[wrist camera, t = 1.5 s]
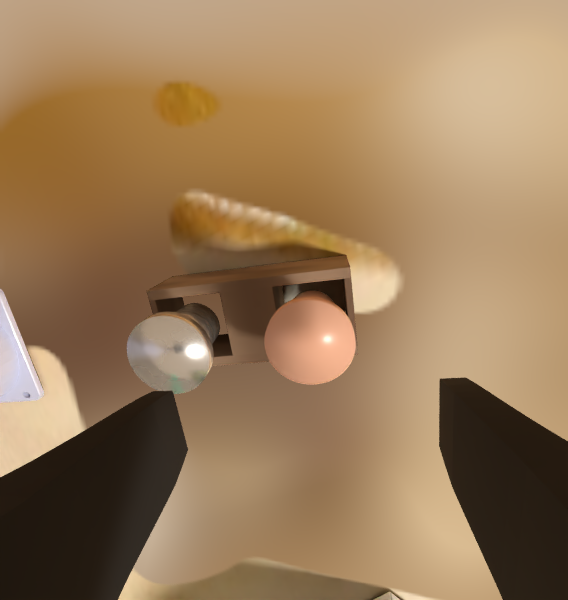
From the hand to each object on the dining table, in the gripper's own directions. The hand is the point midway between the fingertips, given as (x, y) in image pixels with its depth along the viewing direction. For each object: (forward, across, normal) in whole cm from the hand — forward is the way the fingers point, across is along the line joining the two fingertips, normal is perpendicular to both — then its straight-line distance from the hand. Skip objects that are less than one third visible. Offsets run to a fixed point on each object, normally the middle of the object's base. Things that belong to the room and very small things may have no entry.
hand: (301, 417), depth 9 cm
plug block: (+10, +3, 0) cm, 11 cm away
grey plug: (+8, +6, 0) cm, 10 cm away
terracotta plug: (+8, 0, 0) cm, 8 cm away
